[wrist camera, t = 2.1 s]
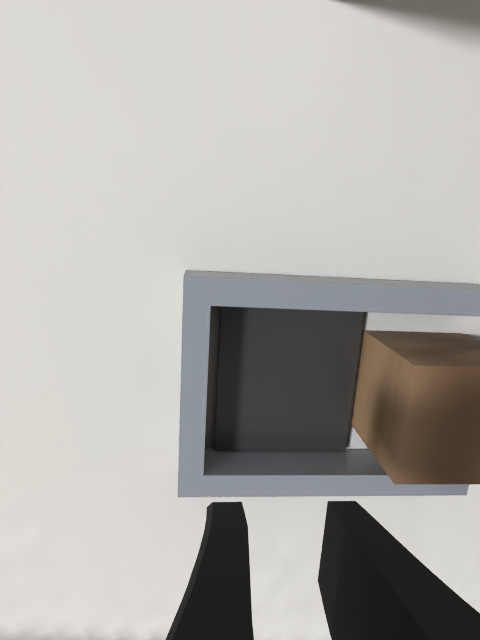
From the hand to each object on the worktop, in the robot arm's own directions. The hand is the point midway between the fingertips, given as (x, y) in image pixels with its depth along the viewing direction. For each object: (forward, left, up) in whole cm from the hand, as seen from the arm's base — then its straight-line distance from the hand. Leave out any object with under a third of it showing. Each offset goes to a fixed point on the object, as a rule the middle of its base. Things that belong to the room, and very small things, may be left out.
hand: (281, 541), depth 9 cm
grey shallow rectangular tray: (-2, -4, -9) cm, 10 cm away
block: (-4, -7, -10) cm, 12 cm away
